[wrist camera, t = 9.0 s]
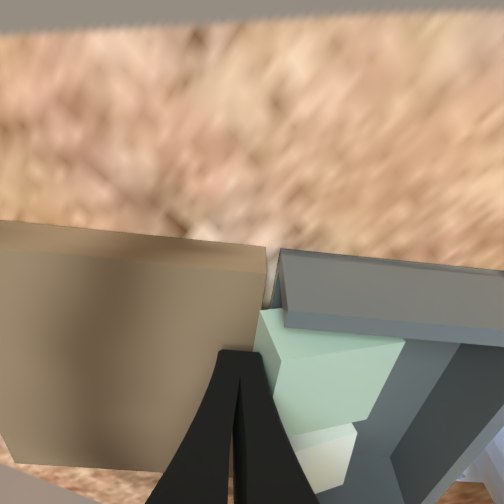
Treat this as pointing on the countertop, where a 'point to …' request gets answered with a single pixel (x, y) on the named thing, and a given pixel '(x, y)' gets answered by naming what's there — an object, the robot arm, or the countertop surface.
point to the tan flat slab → (115, 340)
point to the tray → (408, 365)
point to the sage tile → (322, 372)
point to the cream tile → (325, 455)
